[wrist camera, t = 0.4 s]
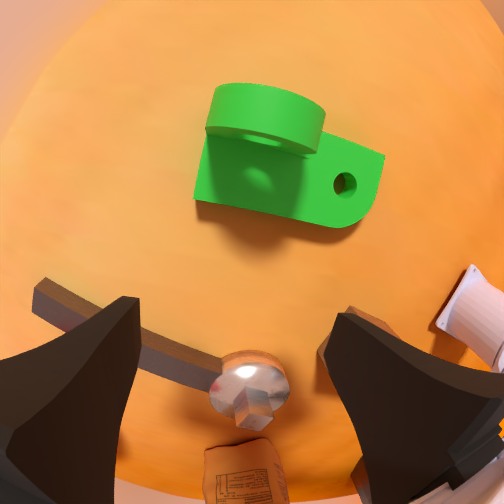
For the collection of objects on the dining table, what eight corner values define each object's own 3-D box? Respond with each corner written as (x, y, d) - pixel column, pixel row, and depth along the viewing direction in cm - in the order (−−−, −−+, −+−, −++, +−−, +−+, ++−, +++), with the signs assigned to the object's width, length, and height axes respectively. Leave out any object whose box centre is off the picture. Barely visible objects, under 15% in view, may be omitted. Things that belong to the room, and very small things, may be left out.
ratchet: (297, 362, 24) (315, 404, 19) (259, 407, 26) (268, 447, 21) (49, 254, 18) (13, 283, 12) (40, 318, 19) (13, 352, 14)
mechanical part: (194, 194, 18) (182, 220, 11) (214, 109, 16) (215, 73, 9) (351, 228, 21) (415, 266, 13) (370, 154, 19) (444, 160, 11)
